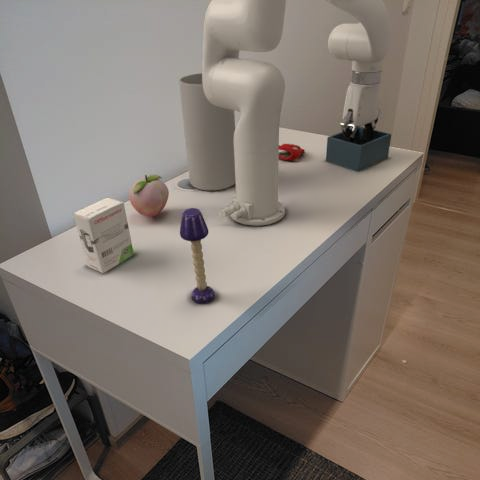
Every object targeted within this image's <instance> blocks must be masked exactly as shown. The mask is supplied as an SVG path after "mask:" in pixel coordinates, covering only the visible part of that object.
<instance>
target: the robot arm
mask: <svg viewBox="0 0 480 480" xmlns="http://www.w3.org/2000/svg"><path fill="white" fill-rule="evenodd" d="M325 1H327V2H328V3H329V4H331V5H332V6H334V7H336V8H338V9H340V10H341V11H343V12H345V13H347V14H348V15H351V16H352V17H353V18H355V19H356V20H357V21H358V23H351V22H350V23H349V22H346V23H340V24H338V25H337V26H335V27H334V28H333V29H332V31H331V32H330V33H329V36H328V40H327V49H328V51H329V54H330V55H331V56H332V57H333V58H335V59H337V60H342V61H350V62H351V71H350V82H349V85H348V88H347V90H346V93H345V99H344V105H343V111H342V121H340V124H339V126H340V128H341V132H343V133H344V136H345V139H344V141H347V142H351V143H355V139H356V137H354V136H355V133H356V131H357V128H358V127H364V128H363V134H362V139H365V140H367V139H366V133H367V138H368V142H369V140H370V139H372V140H371V141H373V133H374V130H376V125H377V123H378V121H379V118H380V116H381V114H382V111H381V109H380V101H381V82H382V73H383V65H384V59H385V58H386V57H387V55H388V54H389V51H390V47H391V40H392V39H391V38H392V37H391V26H390V19H389V14H388V10H387V7H386V5H385V3H384V1H383V0H325ZM286 3H287V0H211V1H210V2H209V4H208V5H207V9H206V11H205V14H204V20H203V29H202V32H203V34H202V63H201V64H202V65H201V66H202V67H201V73H202V82H203V90H204V93H205V96H206V98H207V99H208V101H209V102H210V103H211V104H213V105H215V106H218V107H221V108H225V109H230V110H234V112H239V113H240V117H239V120H238V122H237V124H236V125H235V131H234V160H235V182H236V183H235V197H233V198H232V203H231V204H230V205H229V206H227V207H223V208H222V209H220V210H219V213H220V216H221V217H222V218H224V219H225V218H227V217H229V216H230V218H231V219H232V220H233V221H235V222H236V223H238V224H242V225H245V226H254V227H255V226H256V227H257V226H266V225H271V224H275V223H277V222H279V221H280V220H281V219H283V218H284V217H285V214H286V208H285V206H284V205H283V204H282V202H280V201H279V169H280V167H279V165H280V163H279V161H280V160H279V159H280V158H279V156H280V150H279V146H280V124H281V123H280V121H281V114H282V107H283V102H284V98H285V92H286V91H285V89H286V83H285V78H284V74H283V73H282V72H281V70H280V69H279V68H278V67H277V66H276V65H274V64H272V63H270V62H267V61H264V60H257V59H250V58H241V57H240V51H242V52H251V53H269V52H273V50H275V49H277V47H278V46H279V44H280V43H281V40H282V37H283V31H284V24H285V14H286V5H287V4H286ZM351 128H353V129H352V132H351V130H350V129H351ZM362 143H363V144H364V141H362Z"/></svg>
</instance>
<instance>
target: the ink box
mask: <svg viewBox="0 0 480 480" xmlns="http://www.w3.org/2000/svg"><path fill="white" fill-rule="evenodd" d="M72 215H73V218H74V221H75V225H76V228H77V232H78V235H79V240H80V243H81V246H82V250H83V254H84V258H85V261H86V265H87V267H88V268H90V269H93V270H95V271H97V272H99V273H101V274H105V273H107V272H108V271H110V270H112V269H113V268H115V267H116V266H118V265H119V264H121V263H123V262H125V261H126V260H128V259H130V258H131V257H133V256H134V255H135V252H134V248H133V247H134V246H133V243H132V238H131V232H130V228H129V222H128V217H127V213H126V206H125V203H124V202H123V201H121V200H117V199H114V198H111V197H105V198H103V199H100V200H99V201H96V202H94V203H91V204H90V205H89V206H86V207H84V208H81V209H79V210H76V211H75V212H73V213H72Z"/></svg>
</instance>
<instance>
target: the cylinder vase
mask: <svg viewBox="0 0 480 480" xmlns="http://www.w3.org/2000/svg"><path fill="white" fill-rule="evenodd" d="M178 84H179V91H180V92H179V94H180V103H181V112H182V121H183V130H184V140H185V151H186V160H187V168H188V178H189V179H188V180H189V184H190V185H191V186H192V187H194V188H195V189H198V190H201V191H209V192H210V191H211V192H212V191H213V192H214V191H221V190H226V189H228V188H231V187H232V186H234V185H236V182H235V160H234V131H235V128H236V117H235V116H236V115H235V110H230V109H225V108H221V107H218V106H215V105H213V104H211V103H210V102H209V101H208V99H207V98H206V96H205V93H204V90H203V82H202V72H199V73H192V74H188V75H184V76H182V77H180V78H179V79H178Z"/></svg>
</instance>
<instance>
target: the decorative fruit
mask: <svg viewBox="0 0 480 480" xmlns="http://www.w3.org/2000/svg"><path fill="white" fill-rule="evenodd" d="M161 179H163V177H162V176H161V175H159V174H151V175H148V176H147V174H145V175H144V178H139V179H138V180H136V181H135V182H134V183H133V184H132V185H131V187H130V188H129V191H128V199H129V202H130V204H131V207H133V209H134V210H135V211H136V212H137V213H139V214H140V215H142V216H144V217H150V218H153V217H156V216H157V215H158V214H159V213H161V212H162V211H163V210H164V209H165V207H166V205H167V203H168V200H169V195H170V192H169V188H168V185H166V183H165V182H164V181H162V180H161Z"/></svg>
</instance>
